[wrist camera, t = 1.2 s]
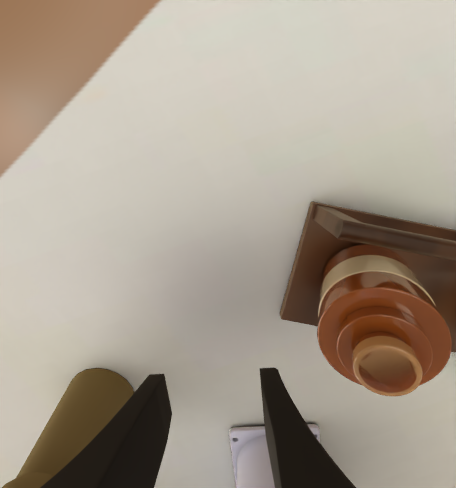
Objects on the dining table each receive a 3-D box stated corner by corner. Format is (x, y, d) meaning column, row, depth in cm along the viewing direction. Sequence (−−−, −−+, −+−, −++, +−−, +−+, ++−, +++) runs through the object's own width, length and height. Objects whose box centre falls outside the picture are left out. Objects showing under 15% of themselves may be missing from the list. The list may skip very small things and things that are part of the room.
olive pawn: (117, 360, 24) (18, 520, 13) (146, 413, 25) (79, 595, 15) (56, 378, 24) (-84, 543, 14) (88, 428, 26) (-16, 611, 15)
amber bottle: (411, 324, 19) (463, 443, 11) (321, 316, 21) (314, 411, 13) (418, 243, 17) (486, 316, 9) (321, 243, 19) (312, 303, 11)
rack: (587, 256, 19) (733, 295, 14) (524, 360, 22) (625, 430, 16) (310, 201, 19) (341, 217, 13) (279, 313, 22) (294, 368, 16)
